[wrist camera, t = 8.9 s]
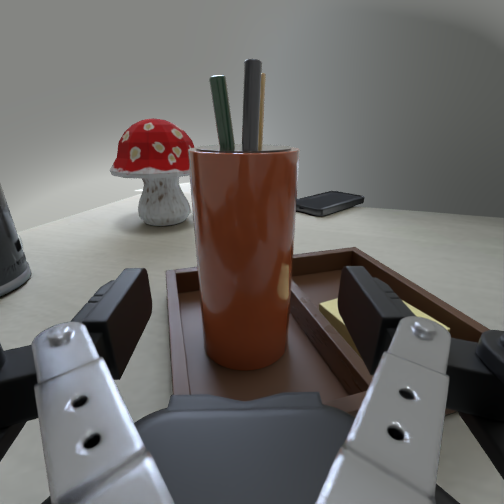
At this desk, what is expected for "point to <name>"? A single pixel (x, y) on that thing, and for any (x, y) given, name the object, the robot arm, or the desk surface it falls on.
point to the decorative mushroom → (156, 169)
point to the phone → (327, 202)
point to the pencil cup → (244, 232)
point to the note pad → (334, 318)
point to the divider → (330, 343)
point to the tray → (289, 333)
